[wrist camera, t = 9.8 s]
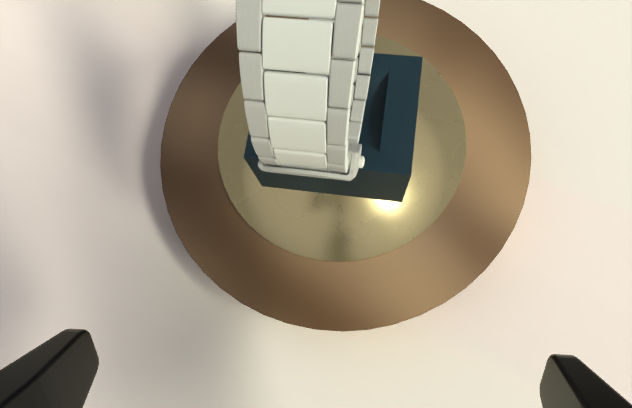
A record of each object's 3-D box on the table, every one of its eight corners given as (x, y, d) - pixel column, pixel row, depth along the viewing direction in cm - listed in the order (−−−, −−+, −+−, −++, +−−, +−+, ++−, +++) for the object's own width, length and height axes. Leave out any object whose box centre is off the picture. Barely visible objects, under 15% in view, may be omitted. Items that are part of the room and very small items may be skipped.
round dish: (379, 412, 18) (382, 423, 16) (112, 192, 21) (85, 176, 19) (580, 122, 20) (606, 97, 18) (312, -33, 24) (307, -69, 22)
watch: (416, 58, 19) (488, -276, 9) (397, 247, 17) (462, 108, 7) (285, 49, 20) (204, -274, 9) (252, 228, 18) (98, 76, 7)
